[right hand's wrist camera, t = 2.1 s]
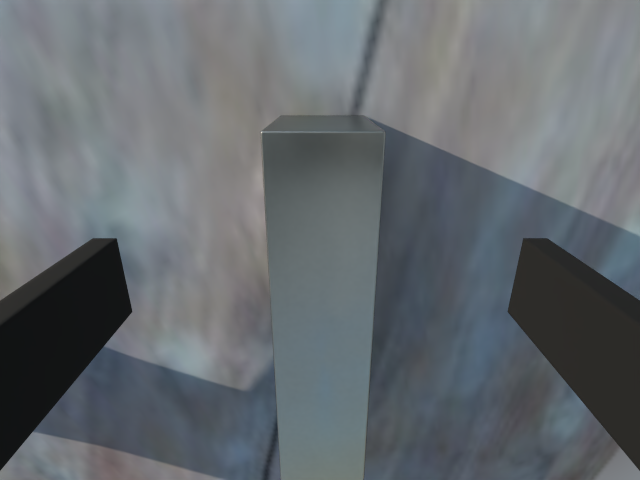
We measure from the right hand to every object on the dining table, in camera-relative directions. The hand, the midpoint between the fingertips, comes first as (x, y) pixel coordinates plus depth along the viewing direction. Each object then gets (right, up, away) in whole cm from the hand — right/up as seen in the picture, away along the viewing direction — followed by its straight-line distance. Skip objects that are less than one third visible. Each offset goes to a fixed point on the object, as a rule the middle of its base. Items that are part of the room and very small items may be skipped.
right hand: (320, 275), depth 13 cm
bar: (0, -2, +17) cm, 17 cm away
